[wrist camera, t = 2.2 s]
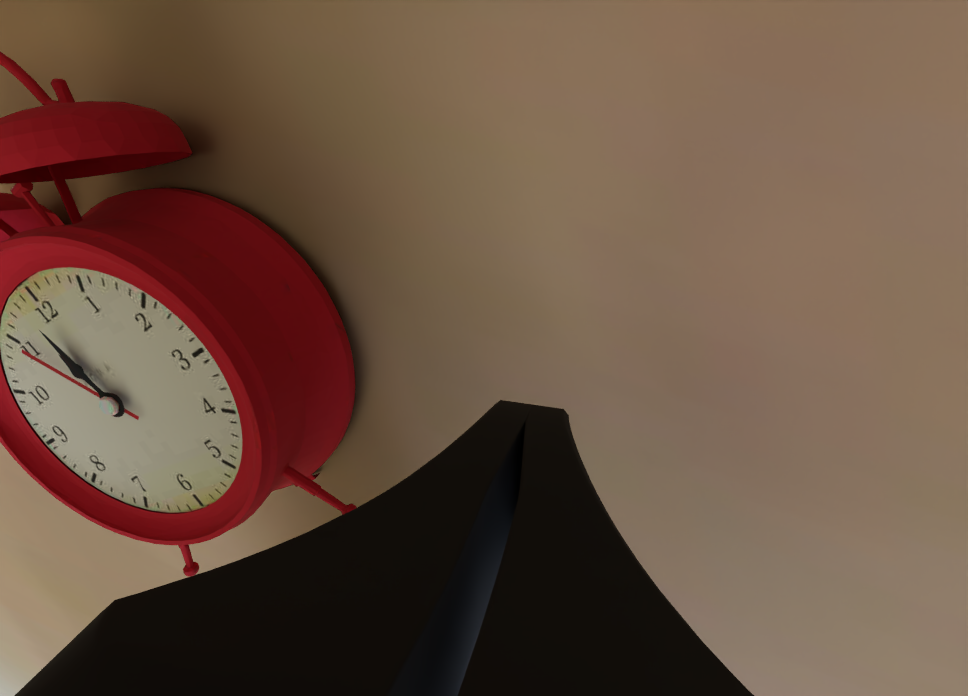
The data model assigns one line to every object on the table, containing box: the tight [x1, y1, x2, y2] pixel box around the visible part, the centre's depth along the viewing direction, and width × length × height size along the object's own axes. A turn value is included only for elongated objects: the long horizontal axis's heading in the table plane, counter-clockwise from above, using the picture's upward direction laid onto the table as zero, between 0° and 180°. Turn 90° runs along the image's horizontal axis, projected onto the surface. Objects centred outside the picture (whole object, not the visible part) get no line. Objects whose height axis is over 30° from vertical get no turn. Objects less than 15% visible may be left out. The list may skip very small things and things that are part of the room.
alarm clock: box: [0, 52, 356, 576], centre depth 14 cm, size 10×6×15 cm
